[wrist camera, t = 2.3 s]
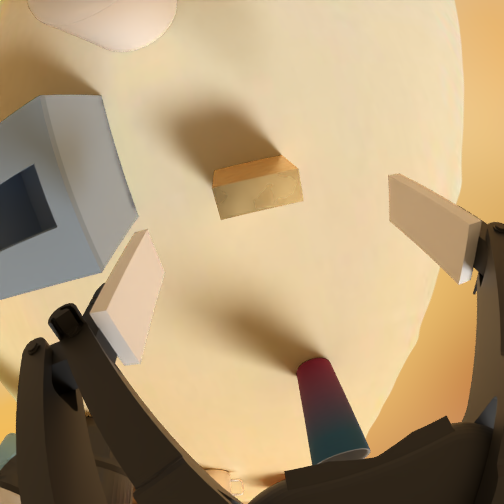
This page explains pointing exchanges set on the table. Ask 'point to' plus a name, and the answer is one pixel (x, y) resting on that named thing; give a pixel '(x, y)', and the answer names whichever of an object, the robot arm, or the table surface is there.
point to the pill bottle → (108, 20)
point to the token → (256, 186)
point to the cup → (328, 415)
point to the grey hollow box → (59, 193)
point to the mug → (223, 479)
